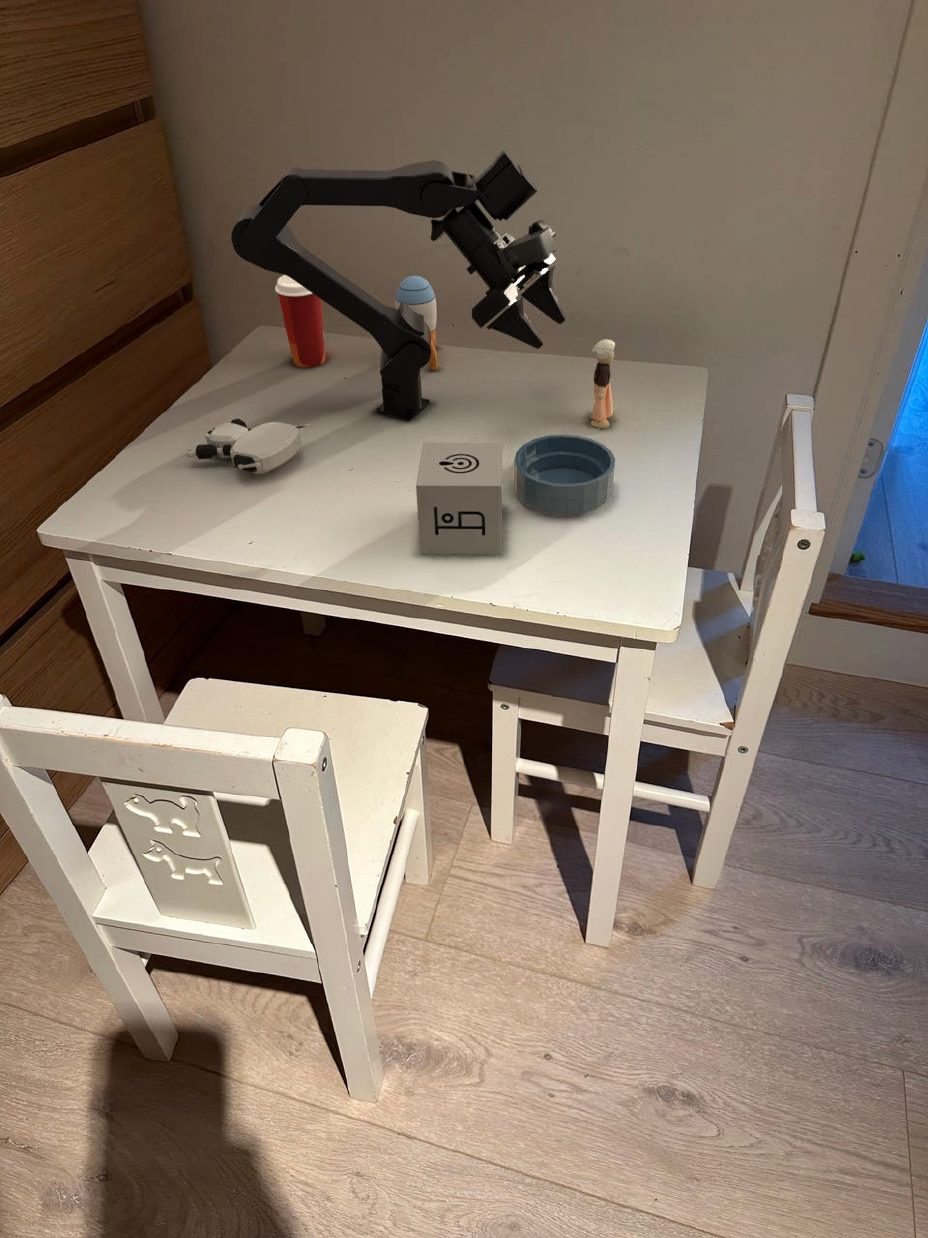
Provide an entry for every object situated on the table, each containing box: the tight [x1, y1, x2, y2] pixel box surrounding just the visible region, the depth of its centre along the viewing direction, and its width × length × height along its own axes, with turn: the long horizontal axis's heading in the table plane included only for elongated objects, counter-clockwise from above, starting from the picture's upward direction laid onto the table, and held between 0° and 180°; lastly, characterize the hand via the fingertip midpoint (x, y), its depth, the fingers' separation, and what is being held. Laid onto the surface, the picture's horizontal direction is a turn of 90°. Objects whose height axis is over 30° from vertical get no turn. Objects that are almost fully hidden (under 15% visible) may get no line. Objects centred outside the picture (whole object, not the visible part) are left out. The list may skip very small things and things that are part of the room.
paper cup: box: [274, 274, 326, 368], centre depth 150 cm, size 8×8×14 cm
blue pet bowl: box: [513, 434, 616, 516], centre depth 119 cm, size 13×13×5 cm
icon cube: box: [415, 442, 503, 556], centre depth 111 cm, size 10×10×10 cm
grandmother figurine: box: [589, 339, 616, 429], centre depth 132 cm, size 8×4×13 cm, turn 6°
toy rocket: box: [394, 275, 438, 372], centre depth 149 cm, size 10×11×15 cm
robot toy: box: [185, 418, 311, 475], centre depth 128 cm, size 12×4×15 cm
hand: (552, 334), depth 127 cm, fingers open, 9 cm apart
